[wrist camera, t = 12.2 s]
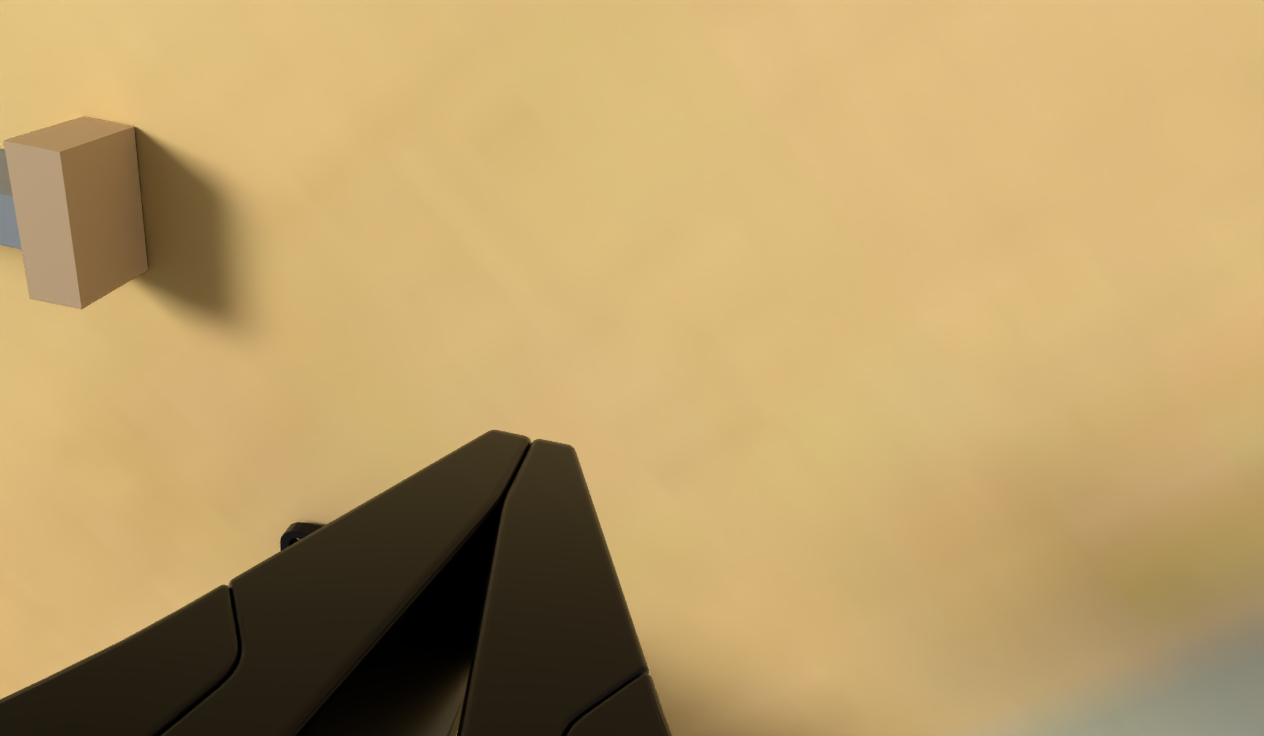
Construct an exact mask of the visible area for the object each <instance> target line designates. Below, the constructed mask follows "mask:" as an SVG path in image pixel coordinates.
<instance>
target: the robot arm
mask: <svg viewBox="0 0 1264 736" xmlns="http://www.w3.org/2000/svg"><path fill="white" fill-rule="evenodd" d="M296 538H299V539H301V540H298V539H296ZM280 545H281V551H280V552H278V553H277V554H275V555H273V556H272V557H270V558H268V559H266V560H265V561H263V562H261V563H259V564H258V565H256V566H254V567H252V568H251V569H249V570H247V571H246V572H244V573H242V574H240V575H239V576H237V577H235V578H233V579H232V580H231V581H230V583H229V587H228V586H227V585H221V586H219V587H217V588H215V589H214V590H212V591H210V592H209V593H207V594H205V595H203V596H202V597H200V598H198V599H196V600H195V601H193V602H191V603H189V604H188V605H186V606H184V607H182V608H181V609H179V610H177V611H175V612H173V613H171V614H170V615H168V616H166V617H164V618H162V619H160V620H159V621H157V622H155V623H153V624H151V625H149V626H148V627H146V628H144V629H142V630H140V631H138V632H137V633H135V634H133V635H131V636H129V637H128V638H126V639H124V640H122V641H120V642H118V643H116V644H114V645H112V646H110V647H108V648H106V649H104V650H102V651H100V652H98V653H96V654H94V655H92V656H90V657H88V658H85V659H83V660H81V661H79V662H77V663H75V664H73V665H71V666H69V667H67V668H65V669H63V670H61V671H59V672H57V673H55V674H53V675H51V676H49V677H47V678H45V679H43V680H41V681H38V682H36V683H34V684H32V685H30V686H28V687H26V688H24V689H21V690H19V691H17V692H15V693H13V694H11V695H9V696H7V697H4V698H2V699H0V736H456V733H457V730H458V733H457V736H672V733H671V731H670V728H669V725H668V723H667V720H666V718H665V715H664V712H663V710H662V707H661V704H660V701H659V698H658V695H657V692H656V689H655V686H654V683H653V680H652V677H651V676H650V675H648V673H649V669H648V666H647V663H646V660H645V657H644V654H643V651H642V648H641V645H640V642H639V639H638V636H637V633H636V630H635V627H634V624H633V621H632V618H631V615H630V612H629V609H628V606H627V603H626V600H625V597H624V594H623V591H622V588H621V585H620V582H619V579H618V576H617V573H616V570H615V567H614V564H613V561H612V558H611V555H610V552H609V549H608V546H607V544H606V541H605V538H604V535H603V532H602V529H601V526H600V523H599V520H598V517H597V514H596V511H595V508H594V505H593V502H592V499H591V496H590V493H589V490H588V487H587V484H586V481H585V478H584V475H583V472H582V469H581V466H580V463H579V460H578V457H577V454H576V451H575V449H574V448H573V447H572V446H570V445H567V444H562V443H557V442H552V441H547V440H542V439H537V440H534V441H533V442H532V443H531V440H530V439H529V438H528V437H526V436H523V435H518V434H513V433H508V432H504V431H499V430H491V431H488V432H486V433H485V434H483V435H481V436H479V437H478V438H476V439H474V440H472V441H471V442H469V443H467V444H465V445H464V446H462V447H460V448H459V449H457V450H455V451H453V452H452V453H450V454H448V455H446V456H445V457H443V458H441V459H440V460H438V461H436V462H434V463H433V464H431V465H429V466H427V467H426V468H424V469H422V470H420V471H419V472H417V473H415V474H414V475H412V476H410V477H408V478H407V479H405V480H403V481H401V482H400V483H398V484H396V485H394V486H393V487H391V488H389V489H388V490H386V491H384V492H382V493H381V494H379V495H377V496H375V497H374V498H372V499H370V500H369V501H367V502H365V503H363V504H362V505H360V506H358V507H356V508H355V509H353V510H351V511H349V512H348V513H346V514H344V515H343V516H341V517H339V518H337V519H336V520H334V521H332V522H330V523H329V524H327V525H325V526H323V527H322V526H318V525H313V524H308V523H301V522H297V523H294V524H291V525H290V526H289V527H288V529H287V530H286V531H285V533H284V534H283V535H282V537H281V541H280ZM458 727H459V728H458Z"/></svg>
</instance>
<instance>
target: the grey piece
mask: <svg viewBox="0 0 1264 736" xmlns="http://www.w3.org/2000/svg"><path fill="white" fill-rule="evenodd" d="M3 142H4V148H5V150H3V149H0V245H4V246H9V247H14V248H19V249H22V254H23V260H24V266H25V272H26V278H27V284H28V290H29V296H30V299H34V300H39V301H43V302H48V303H53V304H58V305H63V306H68V307H73V308H78V309H83V308H85V307H86V306H88V305H90V304H91V303H93V302H95V301H96V300H98V299H100V298H102V297H103V296H105V295H107V294H108V293H110V292H112V291H113V290H115V289H117V288H118V287H120V286H122V285H123V284H125V283H127V282H129V281H130V280H132V279H134V278H135V277H137V276H139V275H140V274H142V273H144V272H145V271H147V270H148V264H147V254H146V244H145V234H144V223H143V213H142V203H141V193H140V182H139V172H138V162H137V151H136V141H135V131H134V126H129V125H124V124H119V123H114V122H109V121H104V120H99V119H94V118H89V117H80V118H77V119H74V120H70V121H67V122H64V123H60V124H57V125H54V126H50V127H47V128H44V129H40V130H37V131H34V132H30V133H27V134H24V135H20V136H17V137H14V138H10V139H7V140H4V141H3Z"/></svg>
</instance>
